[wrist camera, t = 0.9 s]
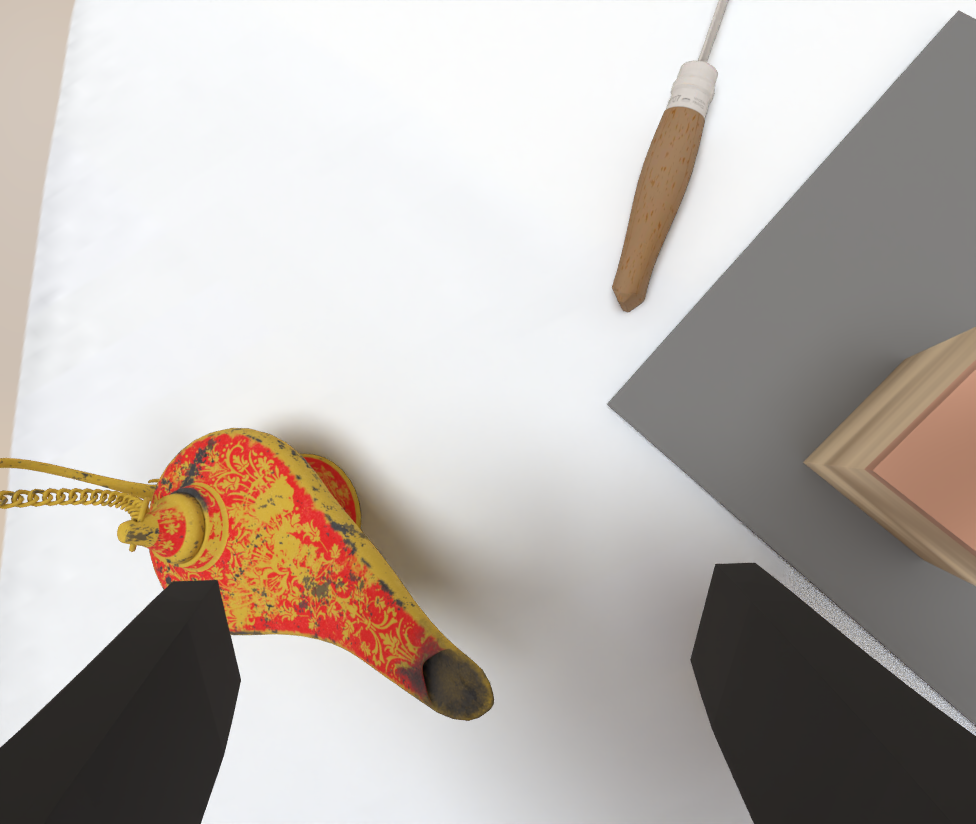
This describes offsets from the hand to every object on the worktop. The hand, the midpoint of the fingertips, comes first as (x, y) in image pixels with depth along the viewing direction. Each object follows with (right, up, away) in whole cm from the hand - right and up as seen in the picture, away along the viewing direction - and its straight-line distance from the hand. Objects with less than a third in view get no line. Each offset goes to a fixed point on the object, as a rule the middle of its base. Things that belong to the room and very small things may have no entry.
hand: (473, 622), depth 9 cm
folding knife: (+7, +13, +12) cm, 19 cm away
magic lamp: (-5, -2, +15) cm, 16 cm away
